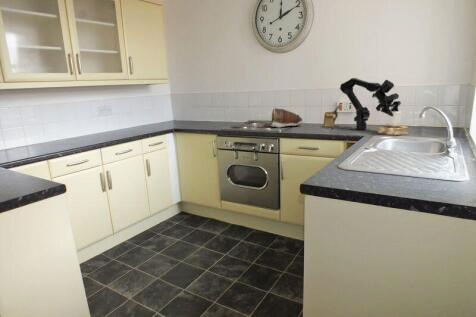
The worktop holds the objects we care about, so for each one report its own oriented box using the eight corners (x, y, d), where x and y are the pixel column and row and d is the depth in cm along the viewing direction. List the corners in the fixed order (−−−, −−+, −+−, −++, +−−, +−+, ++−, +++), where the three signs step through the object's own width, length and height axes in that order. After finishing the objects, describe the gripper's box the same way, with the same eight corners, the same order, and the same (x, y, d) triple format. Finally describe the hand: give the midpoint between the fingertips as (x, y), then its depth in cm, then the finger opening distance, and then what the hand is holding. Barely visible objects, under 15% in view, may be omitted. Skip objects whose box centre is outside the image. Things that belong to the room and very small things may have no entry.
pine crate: (377, 133, 215) (378, 126, 213) (390, 131, 221) (390, 125, 220) (395, 136, 203) (395, 129, 202) (408, 133, 210) (408, 127, 208)
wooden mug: (341, 127, 248) (342, 103, 244) (323, 127, 250) (323, 104, 246) (339, 125, 257) (340, 102, 252) (322, 125, 259) (322, 103, 255)
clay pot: (306, 112, 252) (275, 107, 251) (303, 131, 254) (272, 126, 253) (301, 112, 267) (272, 108, 266) (298, 131, 269) (269, 126, 267)
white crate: (386, 125, 212) (387, 111, 210) (392, 124, 215) (393, 111, 213) (394, 126, 207) (395, 112, 205) (400, 125, 210) (401, 111, 208)
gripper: (381, 89, 204) (395, 108, 198) (399, 88, 213) (414, 106, 206) (370, 101, 213) (383, 119, 206) (388, 100, 222) (401, 117, 215)
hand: (395, 115), depth 208 cm, fingers closed on white crate, 6 cm apart
